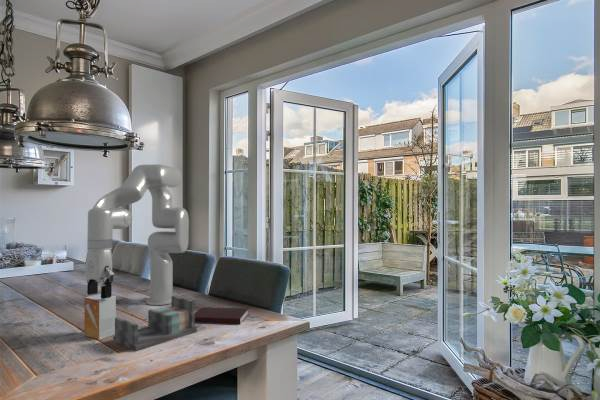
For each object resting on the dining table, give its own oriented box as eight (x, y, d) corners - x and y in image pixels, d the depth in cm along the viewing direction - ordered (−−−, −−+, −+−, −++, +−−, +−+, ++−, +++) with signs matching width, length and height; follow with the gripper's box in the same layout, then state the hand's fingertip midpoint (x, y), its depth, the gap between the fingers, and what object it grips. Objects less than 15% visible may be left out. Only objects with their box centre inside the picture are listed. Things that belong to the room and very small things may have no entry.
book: (240, 326, 140) (240, 317, 140) (189, 323, 142) (189, 315, 142) (249, 316, 152) (249, 307, 152) (202, 314, 155) (202, 306, 155)
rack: (113, 340, 124) (113, 308, 124) (172, 323, 141) (172, 295, 141) (136, 351, 115) (136, 316, 115) (196, 331, 133) (196, 301, 133)
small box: (83, 336, 128) (83, 297, 128) (101, 330, 134) (101, 293, 134) (98, 340, 124) (98, 300, 125) (116, 334, 130) (116, 295, 130)
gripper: (77, 244, 132) (76, 294, 131) (100, 247, 121) (99, 301, 120) (99, 242, 137) (98, 290, 137) (123, 245, 127) (123, 297, 126)
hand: (99, 295), depth 129 cm, fingers open, 9 cm apart
